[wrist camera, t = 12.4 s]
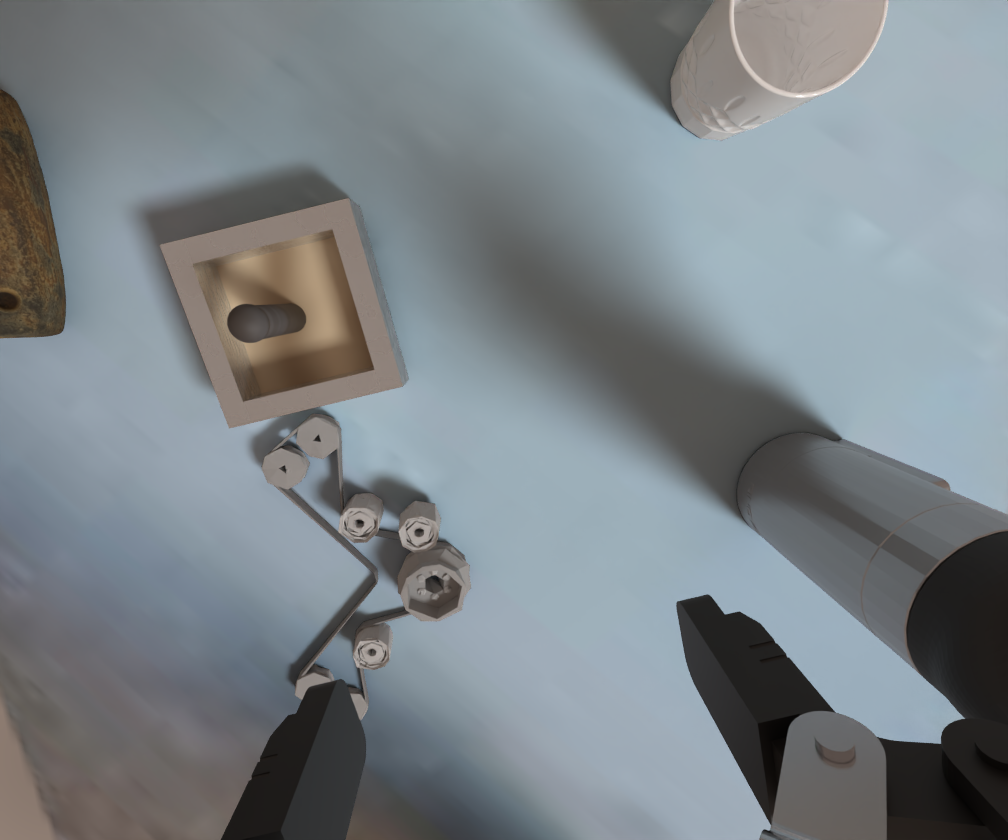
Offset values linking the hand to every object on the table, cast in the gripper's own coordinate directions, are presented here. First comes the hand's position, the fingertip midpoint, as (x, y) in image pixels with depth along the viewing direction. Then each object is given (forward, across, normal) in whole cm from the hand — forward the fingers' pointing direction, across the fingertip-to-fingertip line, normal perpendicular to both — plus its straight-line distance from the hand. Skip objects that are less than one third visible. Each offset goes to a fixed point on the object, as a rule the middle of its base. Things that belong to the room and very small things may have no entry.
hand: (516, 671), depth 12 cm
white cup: (+28, -20, -18) cm, 39 cm away
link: (+27, +11, -10) cm, 31 cm away
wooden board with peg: (+28, +12, -10) cm, 32 cm away
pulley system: (+29, +12, +11) cm, 33 cm away
